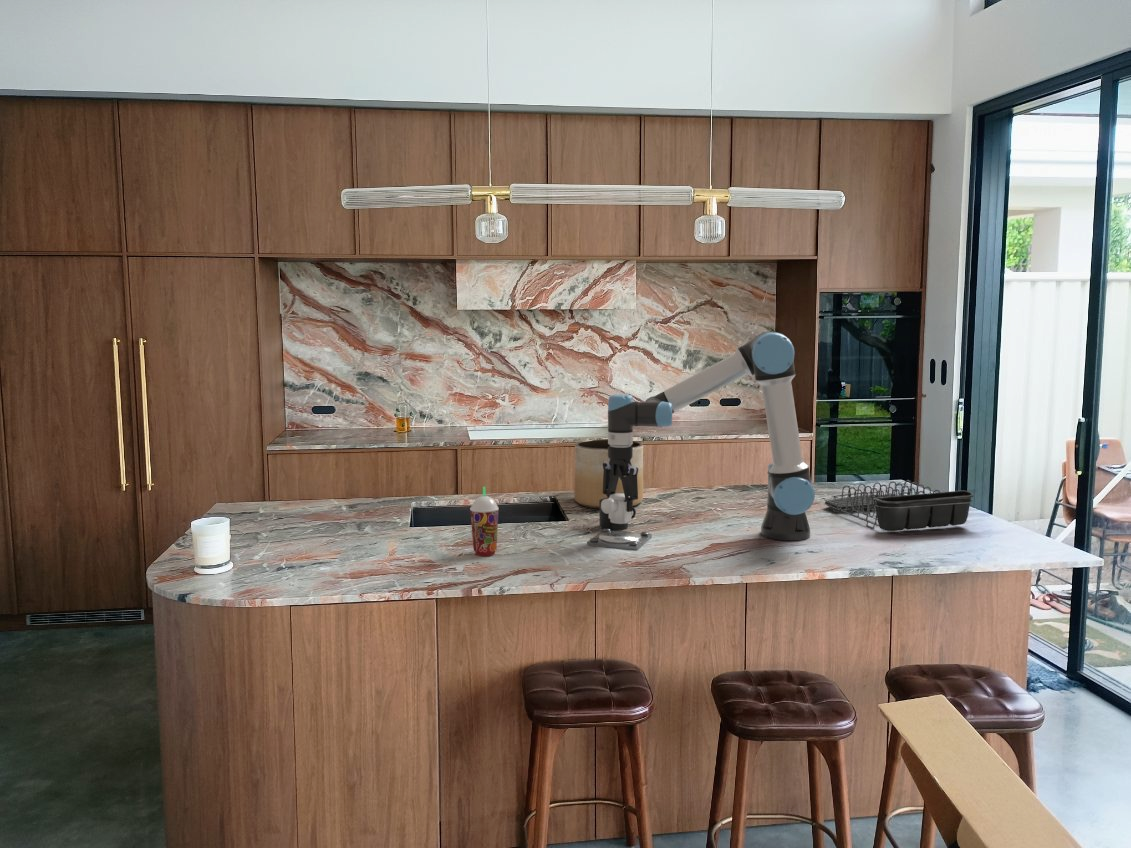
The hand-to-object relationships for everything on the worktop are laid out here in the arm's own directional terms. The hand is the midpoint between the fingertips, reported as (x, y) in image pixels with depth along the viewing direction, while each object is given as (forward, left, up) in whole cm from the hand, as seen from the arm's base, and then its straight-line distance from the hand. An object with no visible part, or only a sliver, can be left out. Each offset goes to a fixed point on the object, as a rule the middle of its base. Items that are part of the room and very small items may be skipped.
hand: (619, 519), depth 274 cm
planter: (+20, -51, -7) cm, 55 cm away
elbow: (+1, +1, -1) cm, 1 cm away
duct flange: (0, 0, -7) cm, 7 cm away
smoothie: (+33, +27, -7) cm, 43 cm away
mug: (+6, -17, -7) cm, 19 cm away
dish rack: (-78, -61, -7) cm, 99 cm away
